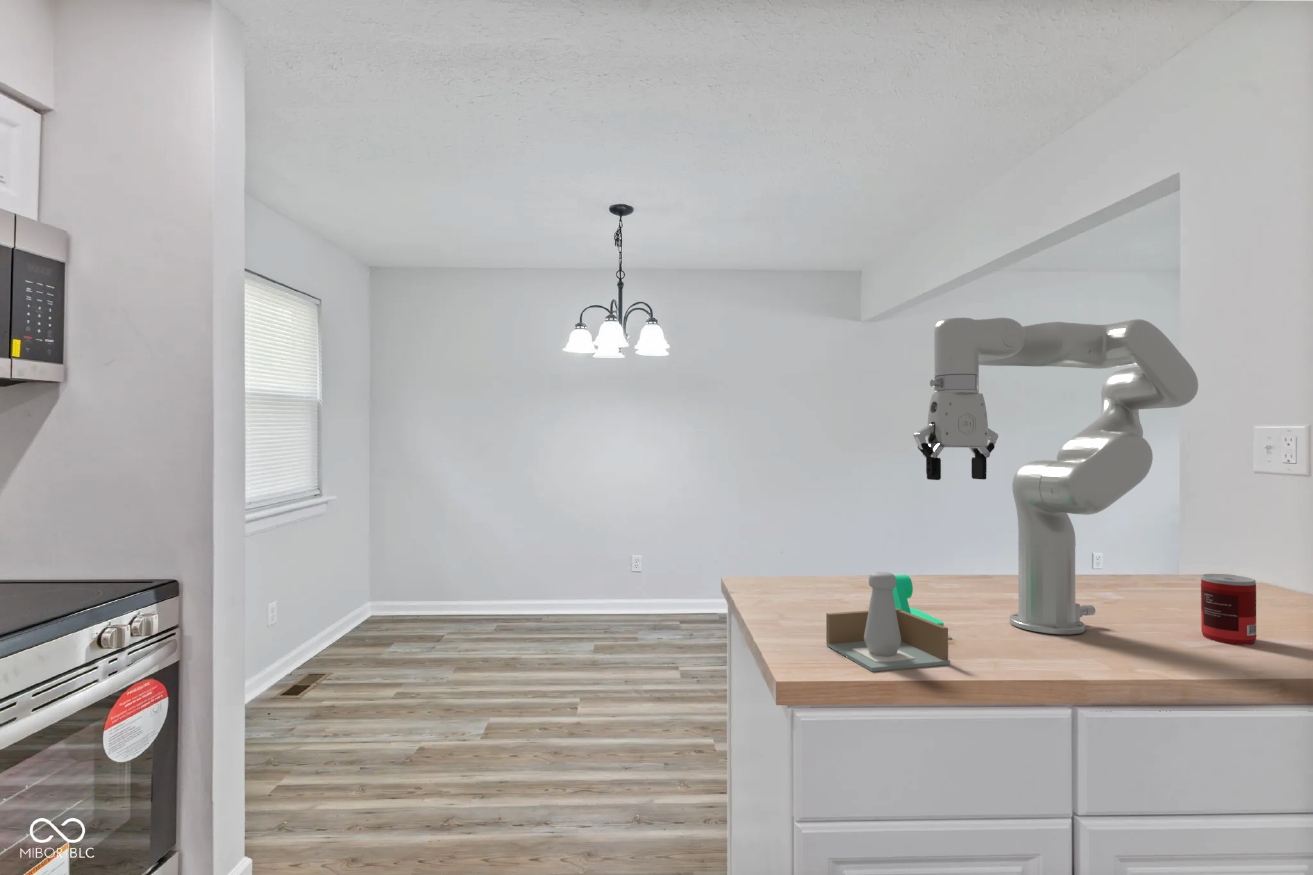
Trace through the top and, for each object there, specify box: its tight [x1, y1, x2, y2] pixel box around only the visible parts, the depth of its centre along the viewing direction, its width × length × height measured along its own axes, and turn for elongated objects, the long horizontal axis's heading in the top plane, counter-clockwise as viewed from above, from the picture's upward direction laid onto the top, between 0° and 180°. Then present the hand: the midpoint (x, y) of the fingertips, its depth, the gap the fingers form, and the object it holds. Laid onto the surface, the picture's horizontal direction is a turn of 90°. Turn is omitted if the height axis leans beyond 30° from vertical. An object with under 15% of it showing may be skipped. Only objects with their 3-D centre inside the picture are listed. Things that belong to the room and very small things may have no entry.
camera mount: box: [892, 574, 945, 627], centre depth 131 cm, size 12×8×10 cm, turn 7°
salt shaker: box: [864, 571, 901, 657], centre depth 113 cm, size 6×6×13 cm
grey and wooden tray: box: [825, 609, 951, 672], centre depth 115 cm, size 14×14×6 cm
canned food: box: [1200, 573, 1257, 645], centre depth 125 cm, size 8×8×11 cm
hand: (956, 479), depth 128 cm, fingers open, 9 cm apart
